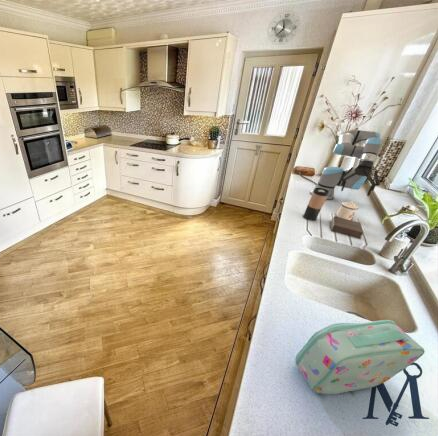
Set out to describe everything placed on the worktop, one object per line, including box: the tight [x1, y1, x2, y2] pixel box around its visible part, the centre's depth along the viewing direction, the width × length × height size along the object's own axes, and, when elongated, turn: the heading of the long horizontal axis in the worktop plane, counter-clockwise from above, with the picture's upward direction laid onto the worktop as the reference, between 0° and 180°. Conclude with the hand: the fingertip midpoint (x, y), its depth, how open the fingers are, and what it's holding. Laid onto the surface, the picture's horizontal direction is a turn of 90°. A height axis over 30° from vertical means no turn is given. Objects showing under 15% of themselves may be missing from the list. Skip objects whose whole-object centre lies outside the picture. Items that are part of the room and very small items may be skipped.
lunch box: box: [294, 319, 426, 396], centre depth 64 cm, size 27×10×21 cm, turn 99°
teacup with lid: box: [335, 200, 359, 221], centre depth 156 cm, size 12×9×12 cm
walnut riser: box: [330, 215, 364, 239], centre depth 143 cm, size 14×14×4 cm
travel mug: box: [302, 187, 329, 221], centre depth 150 cm, size 8×8×20 cm
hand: (354, 193), depth 153 cm, fingers open, 13 cm apart
